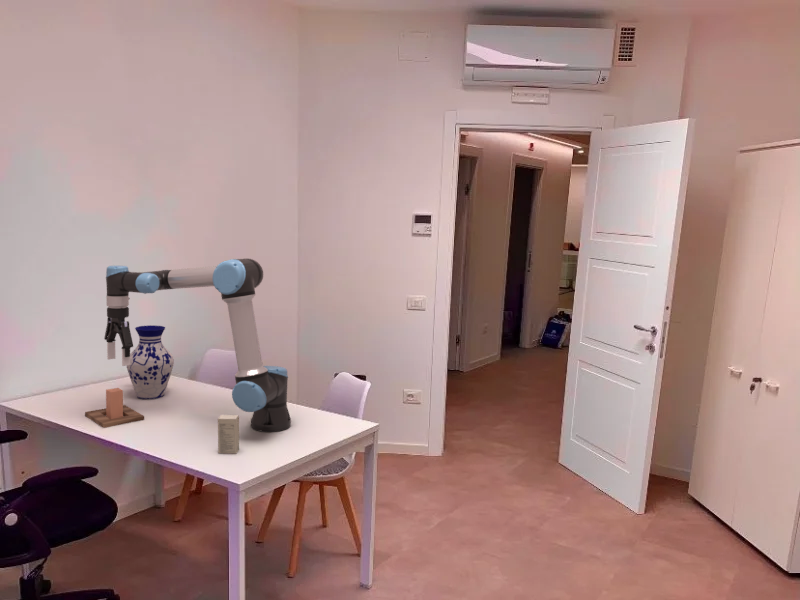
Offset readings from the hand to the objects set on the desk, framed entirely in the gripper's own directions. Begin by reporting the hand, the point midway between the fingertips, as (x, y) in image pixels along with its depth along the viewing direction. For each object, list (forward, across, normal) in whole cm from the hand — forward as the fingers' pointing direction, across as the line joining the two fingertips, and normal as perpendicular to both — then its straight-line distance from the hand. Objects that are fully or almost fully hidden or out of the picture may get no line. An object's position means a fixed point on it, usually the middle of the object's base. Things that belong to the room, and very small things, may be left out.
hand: (118, 362), depth 229 cm
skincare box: (+23, -56, -13) cm, 62 cm away
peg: (+22, +1, +1) cm, 22 cm away
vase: (+22, +21, -22) cm, 37 cm away
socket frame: (+22, +1, +2) cm, 22 cm away
